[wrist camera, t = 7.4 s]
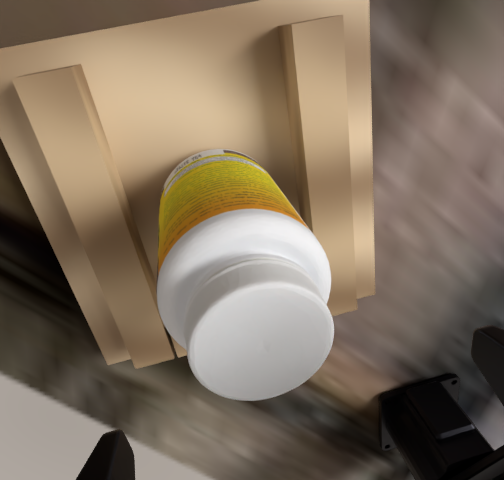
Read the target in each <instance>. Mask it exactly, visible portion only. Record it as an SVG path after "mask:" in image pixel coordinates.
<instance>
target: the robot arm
mask: <svg viewBox="0 0 504 480" xmlns="http://www.w3.org/2000/svg"><path fill="white" fill-rule="evenodd" d="M471 355H472V358H473V360H474V362H475V364H476V365H477V367H478V368H479V370H480V371H481V373H482V374H483V376H484V377H485V379H486V380H487V382H488V383H489V385H490V386H491V388H492V389H493V391H494V392H495V394H496V395H497V397H498V398H499V400H500V401H501V403H502V404H503V406H504V330H503V329H501V328H498V327H496V326H493V325H487V326H483V327H480V328H477V329H475V330H474V333H473V340H472V348H471ZM459 387H460V378H459V377H458V376H457V375H456V374H449V375H446V376H443V377H439V378H436V379H432V380H429V381H425V382H422V383H419V384H415V385H412V386H408V387H405V388H401V389H398V390H395V391H391V392H388V393H385V394H382V395H381V396H380V397H379V436H380V446H381V448H382V450H384V451H387V450H391V449H394V448H397V449H398V450H399V452H400V454H401V456H402V457H403V459H404V461H405V463H406V464H407V466H408V468H409V470H410V472H411V473H412V475H413V477H414V479H415V480H504V445H503V446H501V447H500V448H498V449H496V450H494V449H493V448H492V447H491V445H490V444H489V443H488V442H487V440H486V439H485V438H484V437H483V435H482V434H481V433H480V432H479V430H478V429H477V428H476V427H475V425H474V423H473V422H472V421H471V420H470V418H469V417H468V416H467V415H466V413H465V412H464V411H463V410H462V408H461V407H460V406H459V405H458V395H459ZM76 480H135V464H134V454H133V450H132V448H131V446H130V444H129V442H128V440H127V438H126V436H125V434H124V432H123V431H122V430H120V429H119V430H115V431H111V432H107V433H105V434H103V435H102V437H101V438H100V440H99V441H98V443H97V445H96V447H95V448H94V450H93V452H92V453H91V455H90V457H89V458H88V460H87V462H86V464H85V465H84V467H83V468H82V470H81V472H80V473H79V475H78V477H77V478H76Z"/></svg>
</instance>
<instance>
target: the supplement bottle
mask: <svg viewBox="0 0 504 480" xmlns="http://www.w3.org/2000/svg"><path fill="white" fill-rule="evenodd" d="M330 290H331V271H330V266H329V261H328V259H327V256H326V253H325V251H324V250H323V248H322V246H321V244H320V243H319V241H318V240H317V238H316V237H315V236H314V234H313V233H312V232H311V230H310V229H309V228H308V226H307V225H306V224H305V222H304V221H303V220H302V218H301V217H300V216H299V214H298V213H297V211H296V210H295V209H294V208H293V206H292V205H291V204H290V202H289V201H288V199H287V198H286V197H285V195H284V194H283V193H282V191H281V190H280V189H279V187H278V186H277V184H276V183H275V182H274V181H273V179H272V178H271V177H270V175H269V174H268V173H267V171H266V170H265V169H264V168H263V167H262V166H261V165H260V164H259V163H258V162H257V161H255V160H254V159H253V158H251V157H249V156H247V155H245V154H243V153H240V152H237V151H234V150H229V149H211V150H206V151H202V152H199V153H197V154H194V155H192V156H190V157H189V158H187V159H185V160H184V161H183V162H181V163H180V164H179V165H178V166H177V167H176V168H175V169H174V170H173V171H172V172H171V174H170V175H169V177H168V178H167V180H166V182H165V184H164V186H163V189H162V192H161V196H160V202H159V227H158V265H157V286H156V292H157V304H158V309H159V313H160V316H161V319H162V321H163V324H164V325H165V327H166V329H167V331H168V332H169V334H170V335H171V336H172V337H173V339H174V340H175V341H176V342H177V343H178V344H179V345H181V346H182V347H183V348H184V349H186V350H187V356H188V361H189V365H190V367H191V369H192V372H193V373H194V375H195V377H196V378H197V379H198V381H199V382H200V383H201V384H202V385H203V386H205V387H206V388H207V389H209V390H210V391H212V392H214V393H216V394H218V395H220V396H223V397H226V398H230V399H235V400H249V401H253V400H262V399H268V398H272V397H275V396H278V395H281V394H283V393H286V392H288V391H290V390H292V389H294V388H296V387H298V386H299V385H301V384H302V383H304V382H305V381H306V380H308V379H309V378H310V377H311V376H312V375H313V374H314V373H315V372H316V371H317V370H318V369H319V368H320V367H321V365H322V364H323V362H324V361H325V359H326V358H327V356H328V354H329V352H330V349H331V347H332V342H333V337H334V323H333V319H332V315H331V313H330V310H329V309H328V307H327V302H328V299H329V294H330Z"/></svg>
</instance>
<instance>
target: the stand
mask: <svg viewBox="0 0 504 480" xmlns="http://www.w3.org/2000/svg"><path fill="white" fill-rule="evenodd" d="M0 138H1V140H2V142H3V144H4V146H5V148H6V151H7V153H8V155H9V157H10V159H11V161H12V163H13V165H14V168H15V170H16V172H17V174H18V176H19V178H20V180H21V182H22V184H23V187H24V189H25V191H26V193H27V195H28V197H29V199H30V201H31V204H32V206H33V208H34V210H35V212H36V214H37V216H38V218H39V220H40V223H41V225H42V227H43V229H44V231H45V233H46V235H47V237H48V240H49V242H50V244H51V246H52V248H53V250H54V252H55V254H56V256H57V259H58V261H59V263H60V265H61V267H62V269H63V271H64V273H65V276H66V278H67V280H68V282H69V284H70V286H71V288H72V290H73V292H74V295H75V297H76V299H77V301H78V303H79V305H80V307H81V309H82V312H83V314H84V316H85V318H86V320H87V322H88V324H89V326H90V328H91V331H92V333H93V335H94V337H95V339H96V341H97V343H98V345H99V348H100V350H101V352H102V354H103V356H104V358H105V360H106V362H107V364H108V365H110V364H114V363H117V362H121V361H125V360H129V359H132V362H133V364H134V366H135V369H137V368H141V367H145V366H148V365H152V364H156V363H160V362H163V361H167V360H171V359H174V347H175V350H176V353H177V356H178V357H182V356H186V355H187V350H186V349H184V348H183V347H182V346H181V345H179V344H178V343H177V342H176V341H175V340H174V339H173V337H172V336H171V335H170V334H169V332H168V331H167V329H166V327H165V325H164V324H163V321H162V319H161V316H160V313H159V309H158V304H157V292H156V286H157V265H158V227H159V202H160V196H161V192H162V189H163V186H164V184H165V182H166V180H167V178H168V177H169V175H170V174H171V172H172V171H173V170H174V169H175V168H176V167H177V166H178V165H179V164H180V163H181V162H183V161H184V160H185V159H187V158H189V157H190V156H192V155H194V154H197V153H199V152H202V151H206V150H211V149H229V150H234V151H237V152H240V153H243V154H245V155H247V156H249V157H251V158H253V159H254V160H255V161H257V162H258V163H259V164H260V165H261V166H262V167H263V168H264V169H265V170H266V171H267V173H268V174H269V175H270V177H271V178H272V179H273V181H274V182H275V183H276V184H277V186H278V187H279V189H280V190H281V191H282V193H283V194H284V195H285V197H286V198H287V199H288V201H289V202H290V204H291V205H292V206H293V208H294V209H295V210H296V211H297V213H298V214H299V216H300V217H301V218H302V220H303V221H304V222H305V224H306V225H307V226H308V228H309V229H310V230H311V232H312V233H313V234H314V236H315V237H316V238H317V240H318V241H319V243H320V244H321V246H322V248H323V250H324V251H325V253H326V256H327V259H328V261H329V266H330V271H331V290H330V294H329V299H328V302H327V307H328V309H329V310H330V313H331V315H332V316H335V315H339V314H342V313H346V312H350V311H353V310H357V299H358V298H362V297H366V296H370V295H374V294H375V260H374V211H373V161H372V112H371V63H370V13H369V0H260V1H255V2H249V3H244V4H238V5H233V6H228V7H222V8H217V9H212V10H206V11H201V12H195V13H190V14H185V15H179V16H174V17H168V18H163V19H158V20H152V21H147V22H141V23H136V24H131V25H125V26H120V27H114V28H109V29H104V30H98V31H93V32H87V33H82V34H77V35H71V36H66V37H60V38H55V39H50V40H44V41H39V42H33V43H28V44H23V45H17V46H12V47H6V48H1V49H0Z"/></svg>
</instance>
